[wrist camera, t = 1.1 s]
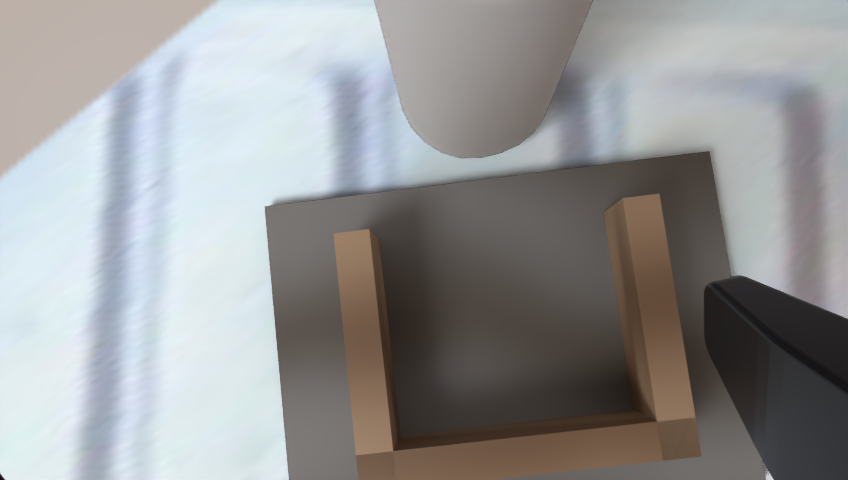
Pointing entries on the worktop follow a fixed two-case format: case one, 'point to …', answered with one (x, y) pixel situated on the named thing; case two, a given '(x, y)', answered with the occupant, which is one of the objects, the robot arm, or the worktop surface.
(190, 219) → the worktop surface
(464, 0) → the beverage can
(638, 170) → the keeper
